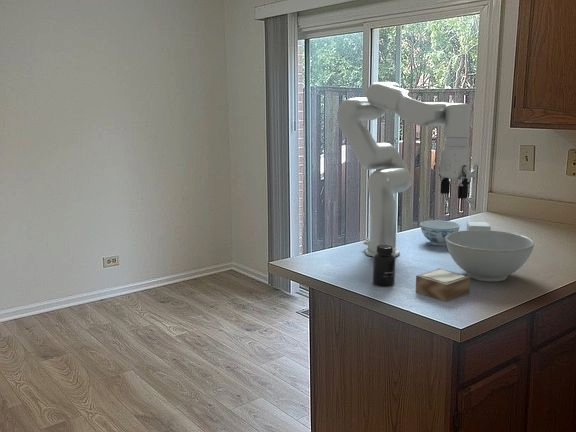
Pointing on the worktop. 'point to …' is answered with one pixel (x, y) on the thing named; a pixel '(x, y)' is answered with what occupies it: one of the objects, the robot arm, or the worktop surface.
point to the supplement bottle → (384, 266)
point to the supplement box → (478, 226)
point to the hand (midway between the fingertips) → (453, 195)
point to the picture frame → (442, 284)
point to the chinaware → (438, 230)
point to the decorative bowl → (488, 253)
